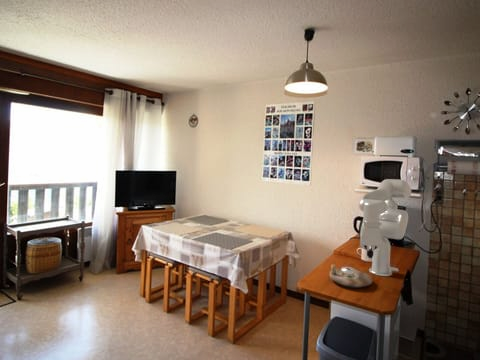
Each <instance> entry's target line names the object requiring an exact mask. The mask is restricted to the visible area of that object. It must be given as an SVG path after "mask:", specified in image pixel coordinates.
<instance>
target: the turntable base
mask: <svg viewBox="0 0 480 360" xmlns="http://www.w3.org/2000/svg"><path fill="white" fill-rule="evenodd" d="M335 283H337V282H335ZM337 284H338V285H340V286H343V287H345V288H350V289H361V288H364V287H365V286H362V287H355V286H348V285H343V284H340V283H337Z"/></svg>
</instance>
